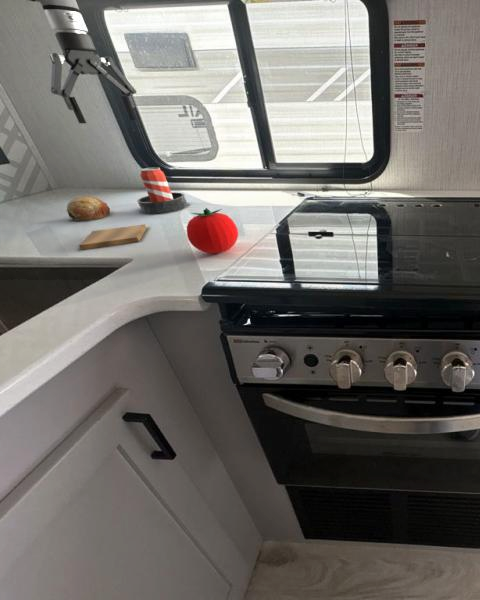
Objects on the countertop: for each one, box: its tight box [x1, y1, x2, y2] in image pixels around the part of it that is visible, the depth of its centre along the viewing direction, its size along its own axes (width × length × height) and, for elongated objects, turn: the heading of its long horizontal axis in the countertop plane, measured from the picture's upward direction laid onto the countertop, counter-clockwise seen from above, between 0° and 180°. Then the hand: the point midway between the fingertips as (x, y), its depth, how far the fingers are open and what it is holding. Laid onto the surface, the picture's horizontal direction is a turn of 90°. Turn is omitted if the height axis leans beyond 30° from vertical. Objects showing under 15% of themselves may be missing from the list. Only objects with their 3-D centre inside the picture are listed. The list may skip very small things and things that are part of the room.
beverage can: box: [139, 166, 173, 202], centre depth 107 cm, size 6×6×12 cm
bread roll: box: [66, 195, 111, 222], centre depth 102 cm, size 10×10×8 cm
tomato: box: [186, 207, 239, 255], centre depth 76 cm, size 10×10×10 cm
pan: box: [136, 191, 188, 215], centre depth 110 cm, size 13×13×4 cm
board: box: [78, 224, 147, 250], centre depth 87 cm, size 12×11×1 cm
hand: (109, 121), depth 101 cm, fingers open, 13 cm apart
